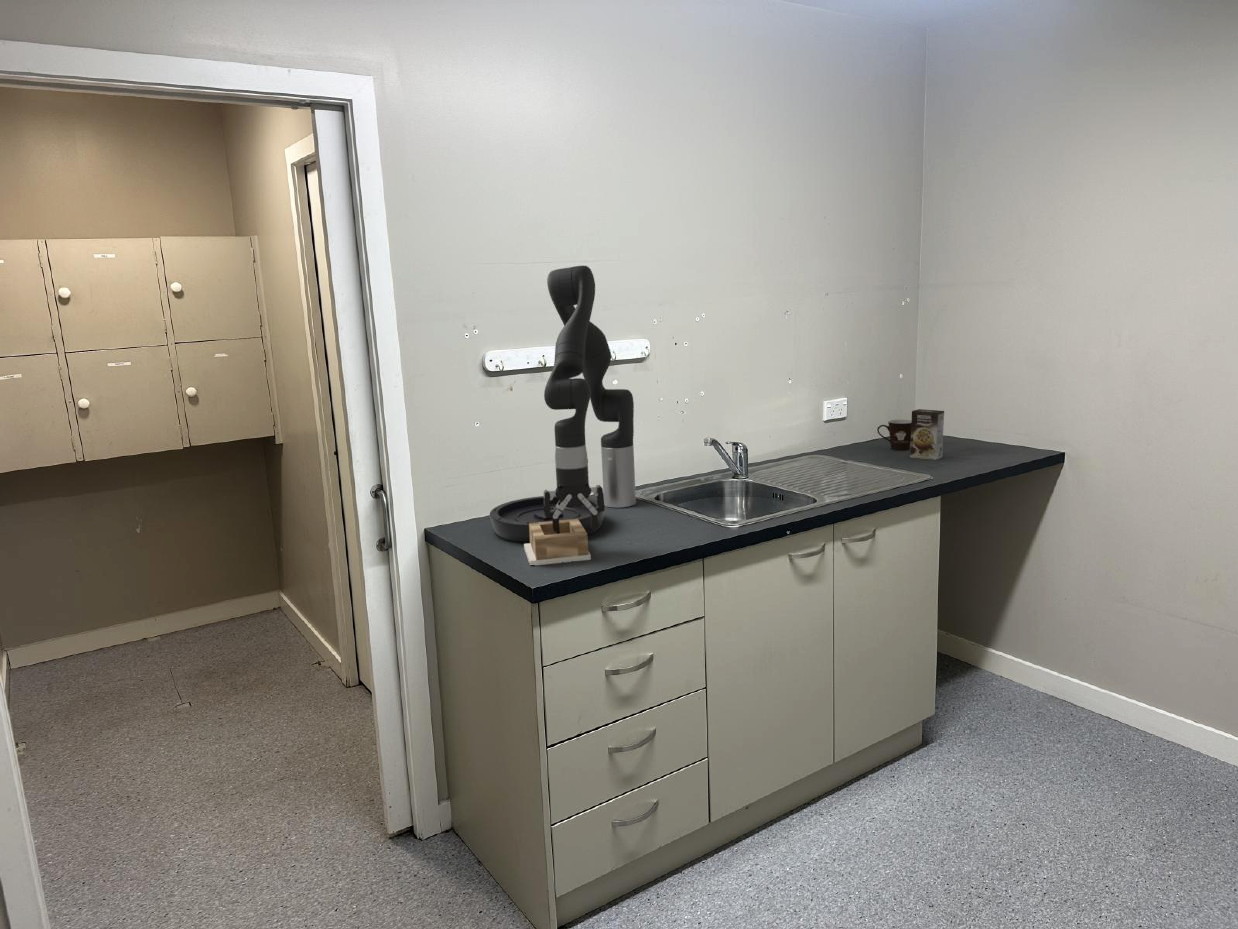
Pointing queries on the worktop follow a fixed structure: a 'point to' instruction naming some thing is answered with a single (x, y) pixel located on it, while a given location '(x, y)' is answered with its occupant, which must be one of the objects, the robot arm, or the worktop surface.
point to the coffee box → (927, 434)
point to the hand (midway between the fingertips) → (575, 531)
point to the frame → (558, 539)
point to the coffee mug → (898, 434)
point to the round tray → (535, 517)
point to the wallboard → (533, 560)
